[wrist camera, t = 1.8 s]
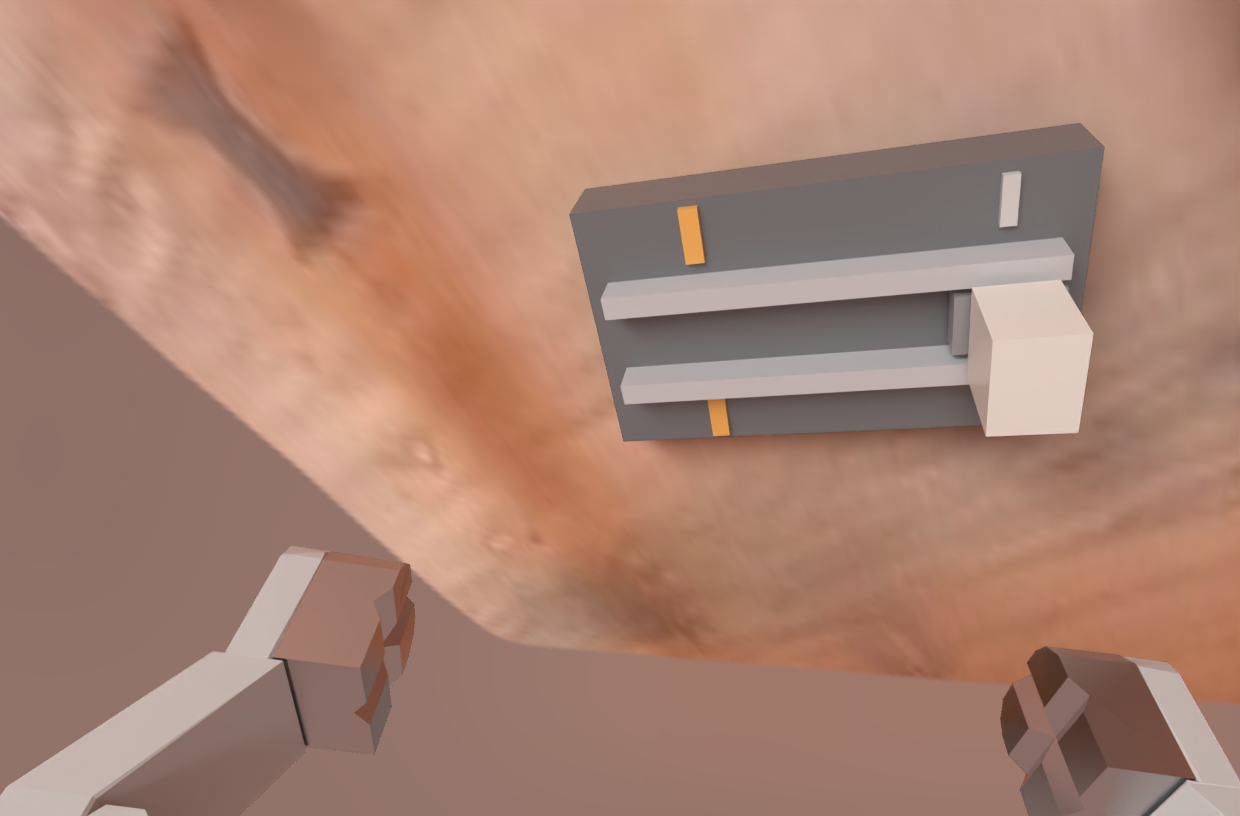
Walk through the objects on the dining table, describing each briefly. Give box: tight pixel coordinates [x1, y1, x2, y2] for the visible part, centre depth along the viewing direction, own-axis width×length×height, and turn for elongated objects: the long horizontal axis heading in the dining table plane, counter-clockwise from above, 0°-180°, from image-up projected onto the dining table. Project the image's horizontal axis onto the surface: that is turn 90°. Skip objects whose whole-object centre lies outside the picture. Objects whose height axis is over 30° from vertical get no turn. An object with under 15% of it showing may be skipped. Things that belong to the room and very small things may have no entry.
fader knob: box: [947, 280, 1093, 437], centre depth 29 cm, size 4×4×6 cm
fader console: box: [569, 123, 1104, 441], centre depth 34 cm, size 20×12×5 cm, turn 101°
